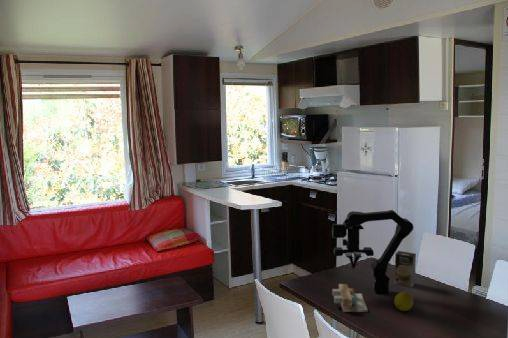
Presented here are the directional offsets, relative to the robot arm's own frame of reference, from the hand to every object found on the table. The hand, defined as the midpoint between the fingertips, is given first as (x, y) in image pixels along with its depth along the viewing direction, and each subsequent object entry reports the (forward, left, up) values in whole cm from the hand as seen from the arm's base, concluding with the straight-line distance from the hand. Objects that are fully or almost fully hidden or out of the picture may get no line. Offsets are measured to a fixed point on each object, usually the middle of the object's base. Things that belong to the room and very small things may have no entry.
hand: (353, 268), depth 221 cm
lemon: (-20, +20, -12) cm, 31 cm away
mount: (+2, +14, -12) cm, 18 cm away
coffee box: (-28, -11, -12) cm, 33 cm away
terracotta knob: (+6, +10, -11) cm, 16 cm away
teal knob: (+6, +18, -11) cm, 22 cm away
